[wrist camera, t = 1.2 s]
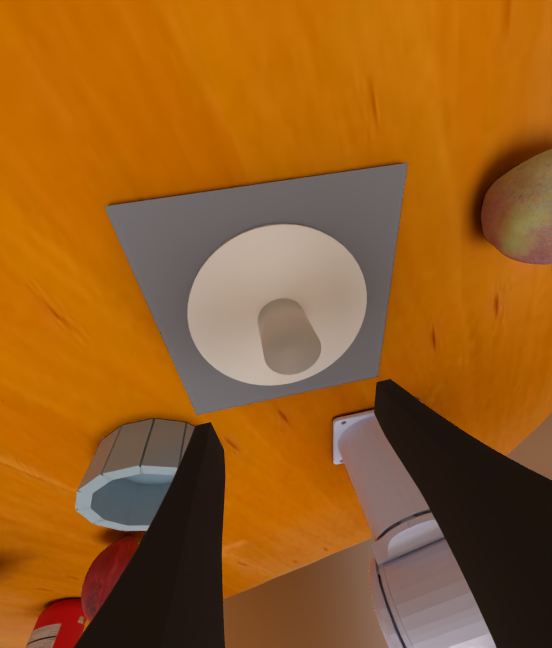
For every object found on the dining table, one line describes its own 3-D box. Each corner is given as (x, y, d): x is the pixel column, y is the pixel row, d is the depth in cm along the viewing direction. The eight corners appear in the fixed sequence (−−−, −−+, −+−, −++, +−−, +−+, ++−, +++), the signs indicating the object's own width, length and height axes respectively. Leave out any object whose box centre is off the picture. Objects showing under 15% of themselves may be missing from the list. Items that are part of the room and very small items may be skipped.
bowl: (197, 409, 21) (191, 453, 18) (224, 470, 27) (223, 513, 23) (76, 434, 20) (46, 486, 17) (128, 492, 26) (113, 540, 22)
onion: (89, 533, 29) (45, 644, 22) (137, 519, 29) (109, 625, 22) (117, 549, 32) (87, 651, 25) (161, 536, 32) (142, 634, 25)
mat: (401, 163, 14) (407, 162, 13) (374, 372, 22) (377, 376, 22) (108, 205, 13) (104, 206, 12) (197, 409, 21) (196, 415, 21)
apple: (426, 210, 16) (519, 226, 11) (554, 110, 14) (736, 73, 9) (452, 277, 19) (535, 314, 14) (561, 201, 17) (700, 212, 12)
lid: (369, 207, 14) (415, 219, 11) (357, 363, 21) (384, 402, 17) (159, 241, 13) (134, 266, 10) (215, 393, 20) (212, 441, 16)
